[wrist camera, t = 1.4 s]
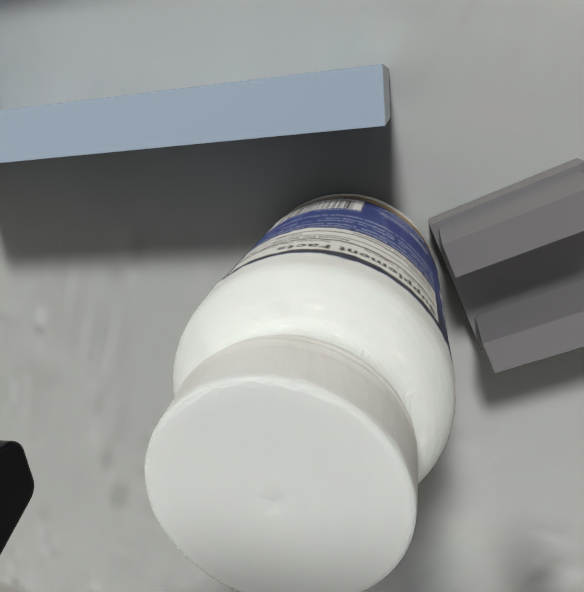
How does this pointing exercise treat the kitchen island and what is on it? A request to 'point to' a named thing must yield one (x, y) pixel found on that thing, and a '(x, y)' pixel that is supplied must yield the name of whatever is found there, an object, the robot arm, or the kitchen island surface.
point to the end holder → (199, 114)
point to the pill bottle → (308, 404)
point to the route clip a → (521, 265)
